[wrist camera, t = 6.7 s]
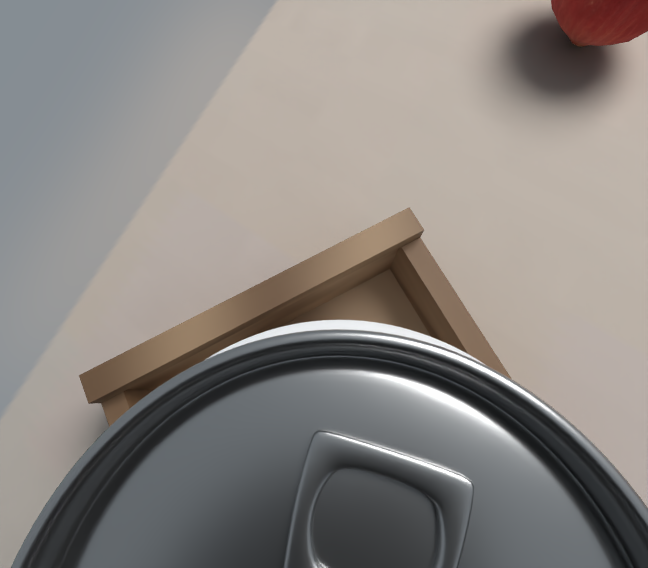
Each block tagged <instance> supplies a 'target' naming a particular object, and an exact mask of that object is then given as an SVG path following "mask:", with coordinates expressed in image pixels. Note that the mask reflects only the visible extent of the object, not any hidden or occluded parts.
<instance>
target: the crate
mask: <svg viewBox="0 0 648 568" xmlns="http://www.w3.org/2000/svg"><path fill="white" fill-rule="evenodd" d="M423 231H424V229H423V227H422V226H421V224H420V223H419V221H418V220H417V218H416V217H415V215H414V214H413V212H412V211H411V209H410V208H407V209H405V210H403V211H401V212H399V213H397V214H395V215H393V216H391V217H389V218H387V219H385V220H383V221H382V222H380V223H378V224H376V225H374V226H372V227H370V228H368V229H366V230H364V231H362V232H360V233H358V234H356V235H354V236H352V237H350V238H348V239H346V240H344V241H342V242H340V243H338V244H336V245H334V246H332V247H330V248H328V249H326V250H325V251H323V252H321V253H319V254H317V255H315V256H313V257H311V258H309V259H307V260H305V261H303V262H301V263H299V264H297V265H295V266H293V267H291V268H289V269H287V270H285V271H283V272H281V273H279V274H277V275H275V276H273V277H271V278H269V279H268V280H266V281H264V282H262V283H260V284H258V285H256V286H254V287H252V288H250V289H248V290H246V291H244V292H242V293H240V294H238V295H236V296H234V297H232V298H230V299H228V300H226V301H224V302H222V303H220V304H218V305H216V306H214V307H213V308H211V309H209V310H207V311H205V312H203V313H201V314H199V315H197V316H195V317H193V318H191V319H189V320H187V321H185V322H183V323H181V324H179V325H177V326H175V327H173V328H171V329H169V330H167V331H165V332H163V333H161V334H159V335H157V336H156V337H154V338H152V339H150V340H148V341H146V342H144V343H142V344H140V345H138V346H136V347H134V348H132V349H130V350H128V351H126V352H124V353H122V354H120V355H118V356H116V357H114V358H112V359H110V360H108V361H106V362H104V363H102V364H100V365H99V366H97V367H95V368H93V369H91V370H89V371H87V372H85V373H83V374H81V375H79V377H80V380H81V383H82V386H83V389H84V392H85V394H86V397H87V400H88V403H89V404H90V403H101V404H102V407H103V410H104V412H105V415H106V418H107V421H108V424H109V427H110V426H111V425H112V424H113V423H114V422H115V421H116V420H117V419H118V418H120V417H121V416H122V415H123V414H124V413H125V412H126V411H127V410H129V409H130V408H131V407H132V406H134V405H135V404H136V403H137V402H138V401H140V400H141V399H142V398H144V397H145V396H146V395H148V394H149V393H150V392H152V391H153V390H155V389H156V388H158V387H159V386H160V385H162V384H163V383H165V382H166V381H168V380H170V379H171V378H173V377H175V376H176V375H178V374H179V373H181V372H183V371H185V370H187V369H188V368H190V367H192V366H194V365H196V364H198V363H200V362H202V361H204V360H206V359H207V358H209V357H210V356H212V355H214V354H215V353H217V352H219V351H221V350H223V349H225V348H227V347H229V346H231V345H233V344H235V343H237V342H239V341H241V340H244V339H246V338H249V337H251V336H254V335H256V334H259V333H262V332H265V331H268V330H272V329H275V328H279V327H283V326H288V325H292V324H298V323H304V322H311V321H322V320H358V321H369V322H376V323H383V324H388V325H393V326H397V327H401V328H405V329H409V330H412V331H416V332H419V333H422V334H425V335H427V336H430V337H433V338H435V339H438V340H440V341H442V342H445V343H447V344H449V345H451V346H453V347H455V348H457V349H459V350H461V351H463V352H465V353H467V354H469V355H470V356H472V357H474V358H475V359H477V360H479V361H480V362H482V363H483V364H485V365H487V366H488V367H490V368H492V369H494V370H496V371H498V372H499V373H501V374H503V375H505V376H506V377H508V378H510V379H511V377H510V376H509V374H508V373H507V371H506V370H505V368H504V366H503V365H502V363H501V362H500V360H499V359H498V357H497V356H496V354H495V353H494V351H493V349H492V348H491V346H490V345H489V343H488V342H487V340H486V339H485V337H484V336H483V334H482V332H481V331H480V329H479V328H478V326H477V325H476V323H475V322H474V320H473V319H472V317H471V315H470V314H469V312H468V311H467V309H466V308H465V306H464V305H463V303H462V302H461V300H460V298H459V297H458V295H457V294H456V292H455V291H454V289H453V288H452V286H451V285H450V283H449V281H448V280H447V278H446V277H445V275H444V274H443V272H442V271H441V269H440V268H439V266H438V264H437V263H436V261H435V260H434V258H433V257H432V255H431V254H430V252H429V251H428V249H427V247H426V246H425V244H424V243H423V241H422V240H421V238H420V237H421V235H422V233H423Z"/></svg>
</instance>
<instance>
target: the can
mask: <svg viewBox="0 0 648 568" xmlns="http://www.w3.org/2000/svg"><path fill="white" fill-rule="evenodd" d="M11 568H648V508H647V506H646V505H645V504H644V502H643V501H642V499H641V498H640V497H639V496H638V494H637V493H636V492H635V490H634V489H633V488H632V487H631V485H630V484H629V483H628V481H627V480H626V479H625V478H624V477H623V476H622V474H621V473H620V472H619V471H618V470H617V469H616V467H615V466H614V465H613V464H612V463H611V462H610V461H609V460H608V459H607V457H606V456H605V455H604V454H603V453H602V452H601V451H600V450H599V449H598V448H597V447H596V446H595V445H594V444H593V443H592V442H591V441H590V440H589V439H588V438H587V437H586V436H585V435H584V434H583V433H582V432H581V431H579V430H578V429H577V428H576V427H575V426H574V425H573V424H572V423H571V422H569V421H568V420H567V419H566V418H565V417H563V416H562V415H561V414H560V413H559V412H557V411H556V410H555V409H554V408H552V407H551V406H550V405H548V404H547V403H546V402H544V401H543V400H542V399H540V398H539V397H537V396H536V395H535V394H533V393H532V392H530V391H529V390H527V389H526V388H524V387H523V386H521V385H520V384H518V383H517V382H515V381H513V380H512V379H510V378H508V377H506V376H505V375H503V374H501V373H499V372H498V371H496V370H494V369H492V368H490V367H488V366H487V365H485V364H483V363H482V362H480V361H479V360H477V359H475V358H474V357H472V356H470V355H469V354H467V353H465V352H463V351H461V350H459V349H457V348H455V347H453V346H451V345H449V344H447V343H445V342H442V341H440V340H438V339H435V338H433V337H430V336H427V335H425V334H422V333H419V332H416V331H412V330H409V329H405V328H401V327H397V326H393V325H388V324H383V323H376V322H369V321H358V320H322V321H311V322H304V323H298V324H292V325H288V326H283V327H279V328H275V329H272V330H268V331H265V332H262V333H259V334H256V335H254V336H251V337H249V338H246V339H244V340H241V341H239V342H237V343H235V344H233V345H231V346H229V347H227V348H225V349H223V350H221V351H219V352H217V353H215V354H214V355H212V356H210V357H209V358H207V359H206V360H204V361H202V362H200V363H198V364H196V365H194V366H192V367H190V368H188V369H187V370H185V371H183V372H181V373H179V374H178V375H176V376H175V377H173V378H171V379H170V380H168V381H166V382H165V383H163V384H162V385H160V386H159V387H158V388H156V389H155V390H153V391H152V392H150V393H149V394H148V395H146V396H145V397H144V398H142V399H141V400H140V401H138V402H137V403H136V404H135V405H134V406H132V407H131V408H130V409H129V410H127V411H126V412H125V413H124V414H123V415H122V416H121V417H120V418H118V419H117V420H116V421H115V422H114V423H113V424H112V425H111V426H110V427H109V428H108V429H107V430H106V431H105V432H104V433H103V434H102V435H101V436H100V437H99V438H98V439H97V440H96V441H95V442H94V443H93V444H92V445H91V446H90V447H89V449H88V450H87V451H86V452H85V453H84V454H83V456H82V457H81V458H80V459H79V460H78V461H77V463H76V464H75V465H74V466H73V468H72V469H71V470H70V471H69V473H68V474H67V475H66V476H65V478H64V479H63V481H62V482H61V483H60V485H59V486H58V487H57V489H56V490H55V492H54V493H53V495H52V496H51V498H50V499H49V501H48V502H47V504H46V505H45V507H44V508H43V510H42V511H41V513H40V515H39V516H38V518H37V519H36V521H35V523H34V524H33V526H32V528H31V530H30V532H29V533H28V535H27V537H26V539H25V540H24V542H23V544H22V546H21V548H20V550H19V552H18V554H17V556H16V558H15V560H14V562H13V564H12V566H11Z"/></svg>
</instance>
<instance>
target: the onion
mask: <svg viewBox="0 0 648 568" xmlns="http://www.w3.org/2000/svg"><path fill="white" fill-rule="evenodd" d="M551 4H552V10H553V12H554V14H555V16H556V19H557V21H558V23H559V25H560V27H561V29H562V30H563V31H564V32H565V34H566V35H567V36H568V37H569V38H570V41H571V42H572V43H573V44H574V45H576V46H579V47H581V46H588V45H594V46H603V45H613V44H618V43H623V42H629V41H630V40H632V39H634V38H636V37H638V36H640V35H641V34H643V33H645V32H647V31H648V0H551Z"/></svg>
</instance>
